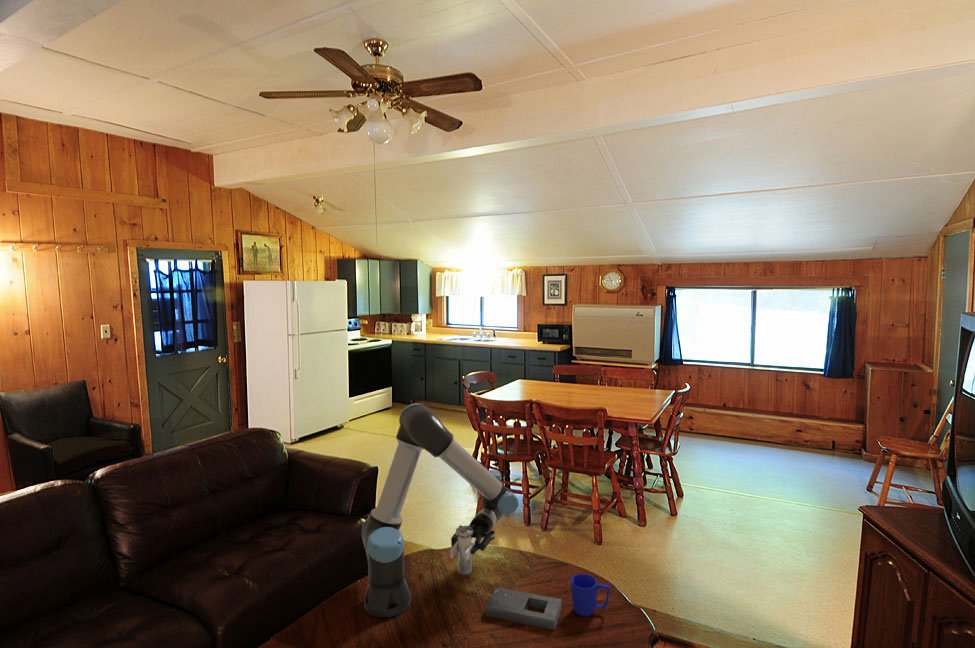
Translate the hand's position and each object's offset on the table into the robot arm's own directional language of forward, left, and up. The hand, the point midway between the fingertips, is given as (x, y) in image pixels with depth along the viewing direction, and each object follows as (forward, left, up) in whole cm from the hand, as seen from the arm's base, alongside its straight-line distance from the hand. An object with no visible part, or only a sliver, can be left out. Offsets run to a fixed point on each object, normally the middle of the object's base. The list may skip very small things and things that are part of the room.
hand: (458, 555), depth 162 cm
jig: (+20, +5, -18) cm, 28 cm away
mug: (+40, +12, -18) cm, 46 cm away
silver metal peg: (0, +5, -8) cm, 10 cm away
